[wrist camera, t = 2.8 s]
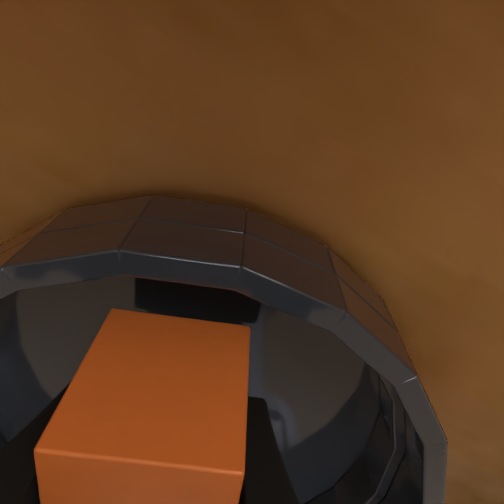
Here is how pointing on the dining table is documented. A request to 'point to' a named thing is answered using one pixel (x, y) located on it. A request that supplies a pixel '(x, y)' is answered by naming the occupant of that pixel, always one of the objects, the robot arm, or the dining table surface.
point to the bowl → (234, 312)
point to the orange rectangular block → (151, 416)
